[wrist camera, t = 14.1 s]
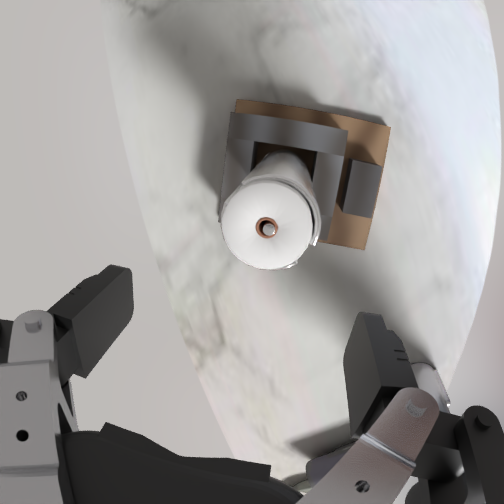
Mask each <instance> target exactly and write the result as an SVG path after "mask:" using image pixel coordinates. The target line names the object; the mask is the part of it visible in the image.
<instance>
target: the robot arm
mask: <svg viewBox="0 0 504 504" xmlns="http://www.w3.org/2000/svg"><path fill="white" fill-rule="evenodd" d="M133 309H134V301H133V283H132V272H131V270H130V269H129V268H125V267H120V266H116V265H109V266H108V267H106V268H105V269H104V270H103V271H102V272H100V273H99V274H98V275H94V276H91V277H89V278H86V279H84V280H83V281H82V282H81V283H79V284H78V285H77V286H76V288H73V289H72V290H71V291H70V292H69V294H66V295H65V296H64V297H63V298H61V299H60V300H59V301H58V302H57V303H56V304H54V305H53V306H52V307H51V308H50V309H49V310H48V311H43V310H31V311H27V312H25V313H23V314H21V315H19V316H18V317H17V318H16V319H15V321H9V320H1V319H0V504H392V503H393V502H394V500H395V499H396V498H397V496H398V494H399V493H400V491H401V490H402V488H403V487H404V485H405V484H406V482H407V480H408V479H409V477H410V476H414V477H418V480H419V482H418V483H416V484H415V485H414V486H413V487H412V488H411V489H410V491H409V492H408V494H407V496H406V499H405V504H504V433H503V430H502V427H501V425H500V422H499V420H498V418H497V417H496V415H495V414H494V413H493V412H491V411H490V410H489V409H487V408H485V407H482V406H471V407H469V408H468V409H467V410H466V411H465V412H464V414H463V415H462V416H457V415H453V414H451V413H450V411H449V408H448V406H449V405H450V399H449V397H448V395H447V392H446V390H445V387H444V385H443V383H442V380H441V378H440V376H439V373H438V371H437V370H434V369H433V368H432V367H431V366H430V365H428V364H425V363H415V364H410V362H409V361H408V356H407V354H406V353H405V348H404V346H403V343H402V341H401V339H400V338H399V337H398V336H397V335H396V334H395V333H394V332H393V331H390V330H387V329H386V326H385V323H384V321H383V318H382V316H381V315H378V314H371V313H365V312H360V313H359V314H358V316H357V318H356V321H355V324H354V326H353V329H352V332H351V335H350V338H349V340H348V343H347V346H346V349H345V353H344V359H343V366H344V374H345V382H346V390H347V399H348V408H349V418H350V428H351V438H356V439H358V440H357V441H356V443H355V444H354V445H353V446H352V447H351V448H350V449H349V450H348V452H347V453H346V454H345V455H344V456H343V457H342V458H341V459H340V460H339V461H338V463H337V464H336V465H335V466H334V467H333V468H332V469H331V470H330V471H329V472H328V473H327V474H326V475H325V476H324V477H323V478H322V479H321V480H320V481H319V482H318V483H317V484H316V485H315V486H314V487H313V488H312V489H311V490H310V491H309V492H308V493H307V494H306V495H305V496H303V495H302V494H301V493H300V492H298V491H297V490H296V489H294V488H293V487H291V486H290V485H288V484H286V483H284V482H282V481H280V480H278V479H275V478H273V477H270V471H271V465H266V464H259V463H253V462H247V461H242V460H236V459H231V458H201V457H182V456H179V455H177V454H175V453H173V452H171V451H169V450H168V449H166V448H164V447H162V446H160V445H159V444H157V443H155V442H153V441H152V440H150V439H148V438H146V437H145V436H143V435H141V434H137V433H135V432H132V431H129V430H126V429H123V428H121V427H118V426H115V425H113V424H110V423H107V422H106V423H105V424H104V426H103V428H102V429H101V431H100V432H99V431H79V429H78V425H77V419H76V414H75V407H74V401H73V394H72V386H71V382H70V377H71V376H72V374H76V375H78V376H81V377H83V378H86V377H87V376H88V374H89V373H90V372H91V371H92V369H93V368H94V367H95V366H96V364H97V363H98V362H99V360H100V359H101V358H102V356H103V355H104V354H105V352H106V351H107V350H108V349H109V347H110V346H111V345H112V343H113V342H114V341H115V340H116V338H117V337H118V336H119V335H120V333H121V332H122V331H123V329H124V328H125V327H126V326H127V324H128V323H129V321H130V320H131V318H132V315H133Z"/></svg>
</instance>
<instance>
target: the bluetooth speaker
mask: <svg viewBox="0 0 504 504" xmlns="http://www.w3.org/2000/svg"><path fill="white" fill-rule="evenodd" d="M355 443H356V442H353V443H350V444H347V445H344V446H342V447H339V448H337V449H336V450H335V451H334V452H332V453H329V454H326V455H324V456H321V457H318V458H315V459H313V460H310V461H308V462H307V464H306V473H307V478H308V482H309V484H310V486H311V487H312V488H313V487H314V486H315V485H316V484H317V483H318V482H319V481H320V480H321V479H322V478H323V477H324V476H325V475H326V474H327V473H328V472H329V471H330V470H331V469H332V468H333V467H334V466H335V465H336V464H337V463H338V461H339V460H340V459H341V458H342V457H343V456H344V455H345V454H346V453H347V452H348V450H349V449H350V448H351V447H352V446H353V445H354V444H355Z"/></svg>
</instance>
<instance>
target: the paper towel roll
mask: <svg viewBox="0 0 504 504" xmlns="http://www.w3.org/2000/svg"><path fill="white" fill-rule="evenodd" d="M221 229H222V233H223V237H224V240H225V242H226V244H227V246H228V247H229V249H230V251H231V252H232V253H233V254H234V255H235V256H236V257H237V258H238V259H239V260H241V261H243V262H244V263H246V264H248V265H249V266H252V267H255V268H258V269H261V270H272V271H275V270H282V269H287V268H289V267H292V266H294V265H296V264H297V263H298V258H299V257H301V255H302V254H303V253H304V251H305V250H306V249H307V247H308V245H309V242H310V244H311V245H313V246H316V243H317V241H318V238H319V236H320V230H321V217H320V211H319V206H318V203H317V199H316V195H315V192H314V188H313V185H312V181H311V178H310V174H309V171H308V167H307V164H306V162H305V160H304V158H303V157H302V156H301V155H300V154H299V153H297V152H296V151H294V150H291V149H288V148H279V149H275V150H273V151H271V152H269V153H268V154H267V155H266V156H265V157H264V159H263V160H262V161H261V162H260V163H259V164H258V165H257V166H256V167H255V168H254V169H253V170H252V171H251V172H250V173H249V175H248V176H247V177H246V178H245V179H244V180H243V181H242V182H241V184H240V185H239V186H238V188H237V189H236V190H235V191H234V192H233V193H232V194H231V195H230V196H229V198H228V199H227V200H226V201H225V202H224V205H223V209H222V212H221Z"/></svg>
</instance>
